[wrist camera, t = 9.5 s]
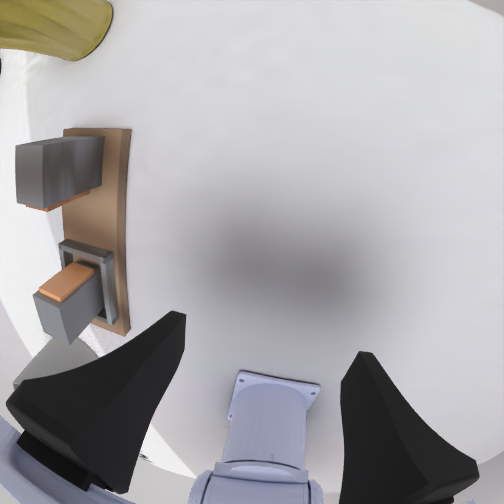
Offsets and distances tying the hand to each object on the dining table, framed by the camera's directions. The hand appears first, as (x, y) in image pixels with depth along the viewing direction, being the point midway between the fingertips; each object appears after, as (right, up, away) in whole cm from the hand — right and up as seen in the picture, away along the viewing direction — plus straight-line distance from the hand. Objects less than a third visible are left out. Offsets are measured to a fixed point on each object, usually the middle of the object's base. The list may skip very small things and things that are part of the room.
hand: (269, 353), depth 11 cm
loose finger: (-15, +2, +11) cm, 18 cm away
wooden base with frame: (-14, +5, +10) cm, 18 cm away
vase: (-14, +22, +3) cm, 27 cm away
